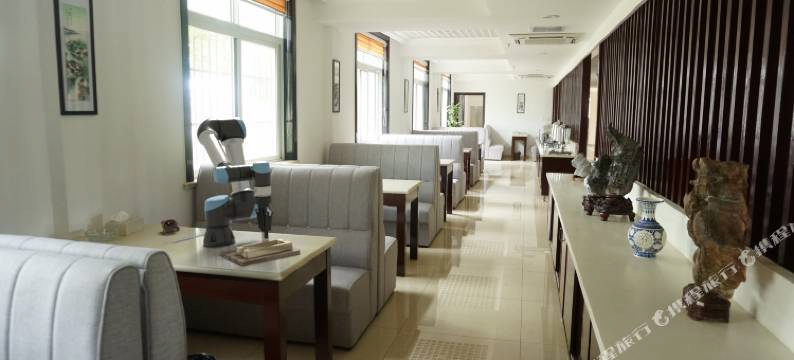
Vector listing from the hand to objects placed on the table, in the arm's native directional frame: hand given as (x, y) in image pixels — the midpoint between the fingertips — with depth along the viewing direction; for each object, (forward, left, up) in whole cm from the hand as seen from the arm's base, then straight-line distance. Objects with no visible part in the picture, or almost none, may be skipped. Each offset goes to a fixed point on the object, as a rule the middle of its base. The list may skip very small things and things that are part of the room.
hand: (265, 244), depth 257 cm
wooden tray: (+7, -4, -1) cm, 8 cm away
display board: (+4, -5, -3) cm, 7 cm away
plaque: (-54, -18, -3) cm, 57 cm away
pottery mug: (-74, -19, -3) cm, 76 cm away
